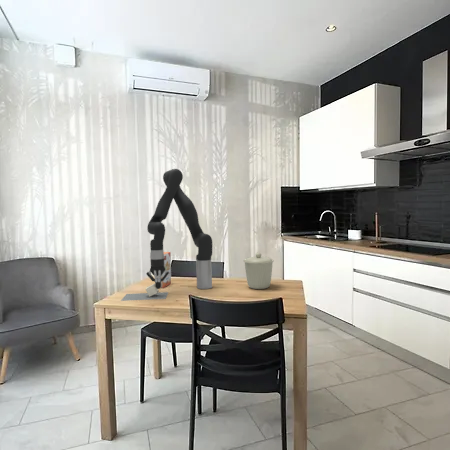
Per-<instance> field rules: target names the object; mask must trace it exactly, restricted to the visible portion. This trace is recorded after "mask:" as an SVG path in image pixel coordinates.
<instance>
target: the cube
mask: <svg viewBox="0 0 450 450" xmlns="http://www.w3.org/2000/svg"><path fill="white" fill-rule="evenodd" d="M145 291H146V293H148V295H149V297H151V296H153V295H156V294H158V293H160V291H159V289H157V288H156V284H155V283H153V284H151V285H149V286H147V287H146V288H145Z"/></svg>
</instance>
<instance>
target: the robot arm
mask: <svg viewBox="0 0 450 450" xmlns="http://www.w3.org/2000/svg"><path fill="white" fill-rule="evenodd" d="M183 175H184V174H183V172H182V171H181V170H180V169H178V168H173V169H172V168H171V169H170V170H168V171H165V172H164V173H163V175H162V179H163V182H164V185H165V186H166V188H165V190H164V192H163V194H162V195H161V197H160V198H159V201H158V203H157V206H156V208H155V211H154V213H153V215H152V216H151V219H150V220H149V221H148V223H147V232H148V234H149V235H153V239H151V240H150V243H149V245H150V246H149V247H150V250H149V258H150V260H149V261H150V268H149V271H147V272H146V276H147V277H148V278H149V279H150V281H152V282H154V284H155V283H156V288H157V289H158V290H159V289H162V288H161V281H163V280H164V279H165V278H166V276H167V275H168V274H169V271H167V270H165V267H164V252H165V251H164V241H165V235H166V227H165V224H164V223H163V221H164V220H166V219H167V216H168V215H169V211H170V208H171V205H172V203H173V200H174V202H175V204H176V206H177V208H178V211H179V213H180V215H181V217H182V219H183V221H184V222H185V225H186V226H187V228H188V230H189V233H190V235H191V238H192V241H193V244H194V245H195V246H196V248H197V249H198V250H197V251H198V252H197V254H196V256H195V265H196V266H195V267H196V288H197V289H199V290H209V289H213V275H212V273H213V272H212V256H213V238H212V236H211V235H209V234H208V233H205V232H204V231H203V230H202V227H201V226H200V222H199V217H198V216H199V215H198V211H197V208H196V207H195V204H194V203H193V201H192V200H191V199H190V197H188V195H186V194H185V192H184V191H183V190H182V188H181V186H180V185H181V184H182V182H183V178H184V176H183ZM164 271H165V273H164ZM163 273H164V274H165V275H164V277H163V278H162V279H161V275H162V274H163ZM153 276H154V277H153Z"/></svg>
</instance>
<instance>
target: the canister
mask: <svg viewBox="0 0 450 450" xmlns="http://www.w3.org/2000/svg"><path fill="white" fill-rule="evenodd" d="M243 262H244V268H245V276H246V282H247V286H248V287H249V288H251V289H254V290H263V289H264V290H266V289H269V287H270V286H271V281H272V275H273V274H272V273H273V263H274V259H272V258H271V257H267V256H262V253H261V252H256V253H255V256H250V257H247V258H245V259H244V260H243Z"/></svg>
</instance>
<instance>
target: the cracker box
mask: <svg viewBox="0 0 450 450" xmlns="http://www.w3.org/2000/svg"><path fill="white" fill-rule="evenodd" d="M171 256H172V255H171V251H170V252H169V251H164V267H165V270H167V271H169V274H168V275H167V276H166V278H165V279H164V280H163V281H161V288H160V289H164V288H166V287H167V286H170V285H171V284H172V271H171V270H172V267H171V265H172V263H171V260H172V259H171ZM164 273H165V271H164ZM164 273H163V274H162V275H161V279H162V278H163V277H164V275H165V274H164ZM154 284H156V283H155V282H154Z"/></svg>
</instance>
